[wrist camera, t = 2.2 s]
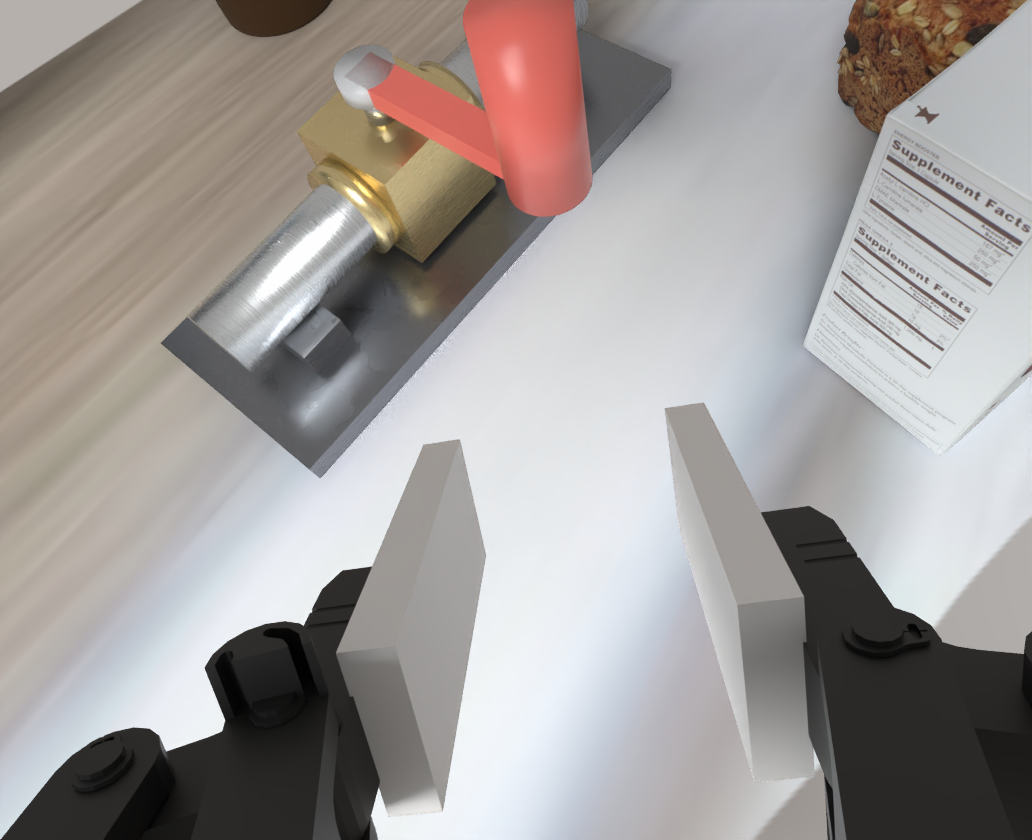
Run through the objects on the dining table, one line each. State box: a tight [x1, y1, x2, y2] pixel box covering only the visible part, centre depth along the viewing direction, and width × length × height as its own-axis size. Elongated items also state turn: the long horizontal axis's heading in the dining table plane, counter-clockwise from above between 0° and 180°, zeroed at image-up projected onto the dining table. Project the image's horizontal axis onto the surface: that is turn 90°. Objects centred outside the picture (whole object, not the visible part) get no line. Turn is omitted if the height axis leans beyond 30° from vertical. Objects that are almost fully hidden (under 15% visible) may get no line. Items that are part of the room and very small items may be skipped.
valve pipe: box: [161, 0, 671, 478], centre depth 45 cm, size 34×14×11 cm, turn 141°
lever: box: [334, 0, 592, 217], centre depth 34 cm, size 16×4×9 cm, turn 51°
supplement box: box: [803, 0, 1032, 456], centre depth 33 cm, size 10×9×17 cm
